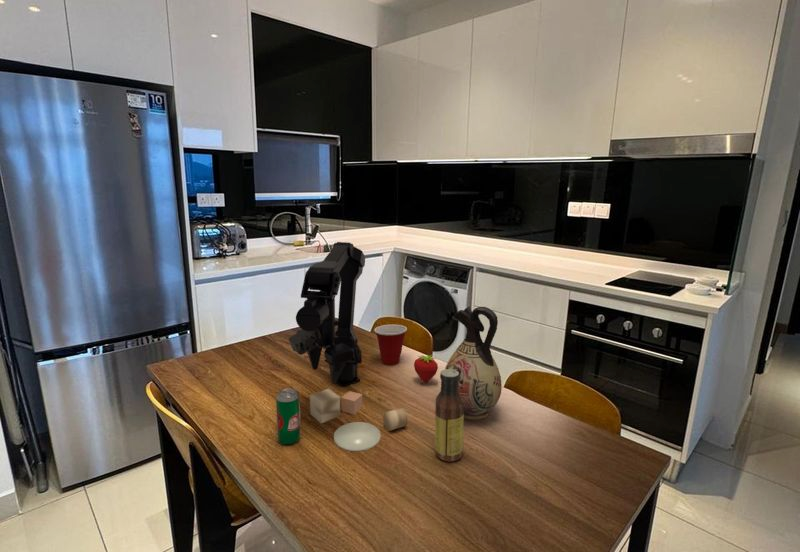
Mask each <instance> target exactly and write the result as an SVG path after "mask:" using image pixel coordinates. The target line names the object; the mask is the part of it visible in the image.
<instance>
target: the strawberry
mask: <svg viewBox="0 0 800 552" xmlns="http://www.w3.org/2000/svg"><path fill="white" fill-rule="evenodd" d="M417 357H418V358H417V359H415V360H414V362H413V368H414V371H415V373H416V374H417V376H418V377H419V379H420V380H421V381H422V382H423V383H424V384H427V383H429V381H430V380H432V379H433V378H434V376H436V374H437V372H438V369H439V366H438V363H437V361H436V360H435V358H434V357H433V354H430V355H427V356H426V355H424V354H421V355H420V356H419V355H417Z"/></svg>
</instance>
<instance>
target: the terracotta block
mask: <svg viewBox="0 0 800 552" xmlns="http://www.w3.org/2000/svg"><path fill="white" fill-rule="evenodd" d="M362 408H363V394H362V393H359V392H354V391H351V390H349V391H347V392H346V393H345V394H344V395H343V396H342V397H340V412H343V413H347V414H350V415H353V416H355V415H356V414H357V413H359V411H361V410H362Z"/></svg>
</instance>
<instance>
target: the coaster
mask: <svg viewBox="0 0 800 552" xmlns="http://www.w3.org/2000/svg"><path fill="white" fill-rule="evenodd" d="M333 441H334V443H335V445H336V446H338V448H340V449H342V450H345V451H349V452H361V451H362V452H363V451H367V450H370V449H373V448H374V447H375V446H377V445H378V443H380V441H381V431H380V429H379V428H378V427H377V426H376V425H373V424H372V423H368V422H363V421H354V422H349V423H345V424H343V425H341V426H339V427H338V428H337V429H336V430H335V432H334V434H333Z"/></svg>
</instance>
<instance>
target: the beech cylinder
mask: <svg viewBox="0 0 800 552" xmlns="http://www.w3.org/2000/svg"><path fill="white" fill-rule="evenodd" d="M408 419H409V418H408V414H407V411H406V410H405V409H404V408H403V407H399V408H395V409H392V410H389V411H385V412H384V413H383V414H382V421H383V425H384V427H385V429H386V430H387V431H393V430H396V429H400V428H402V427H406V426H407V424H408V421H409V420H408Z"/></svg>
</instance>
